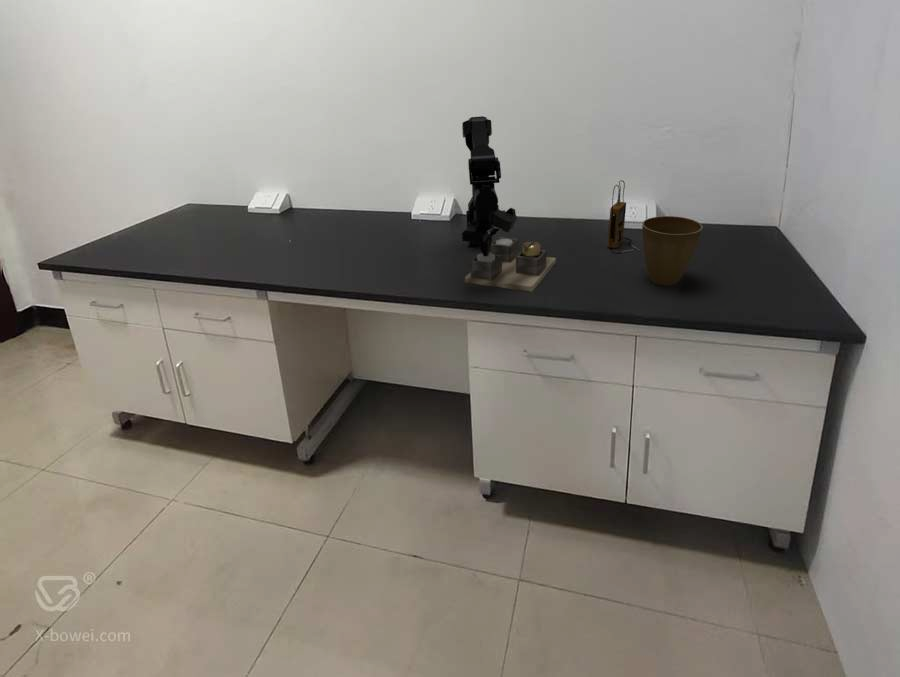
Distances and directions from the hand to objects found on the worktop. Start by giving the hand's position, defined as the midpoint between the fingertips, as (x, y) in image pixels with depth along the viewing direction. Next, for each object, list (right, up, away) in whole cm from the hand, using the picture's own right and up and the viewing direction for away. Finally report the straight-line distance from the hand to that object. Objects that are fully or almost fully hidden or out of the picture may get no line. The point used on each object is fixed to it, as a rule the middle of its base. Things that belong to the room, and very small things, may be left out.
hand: (486, 255), depth 168 cm
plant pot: (+49, -8, -4) cm, 50 cm away
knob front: (0, -4, +2) cm, 5 cm away
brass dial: (+13, -1, +2) cm, 13 cm away
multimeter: (+45, +5, +20) cm, 50 cm away
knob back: (+6, +2, +13) cm, 15 cm away
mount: (+8, -4, +7) cm, 11 cm away
